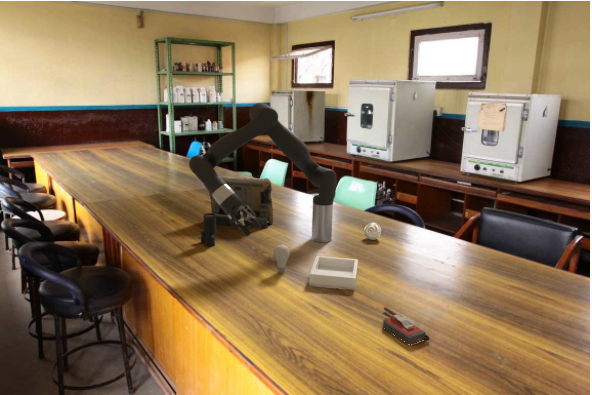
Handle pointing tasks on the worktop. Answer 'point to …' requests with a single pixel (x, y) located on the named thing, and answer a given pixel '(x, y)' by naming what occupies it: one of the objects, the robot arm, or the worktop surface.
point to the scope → (208, 230)
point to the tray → (334, 272)
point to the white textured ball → (372, 231)
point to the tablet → (248, 200)
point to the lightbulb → (281, 256)
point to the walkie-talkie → (403, 328)
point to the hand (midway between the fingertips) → (254, 231)
